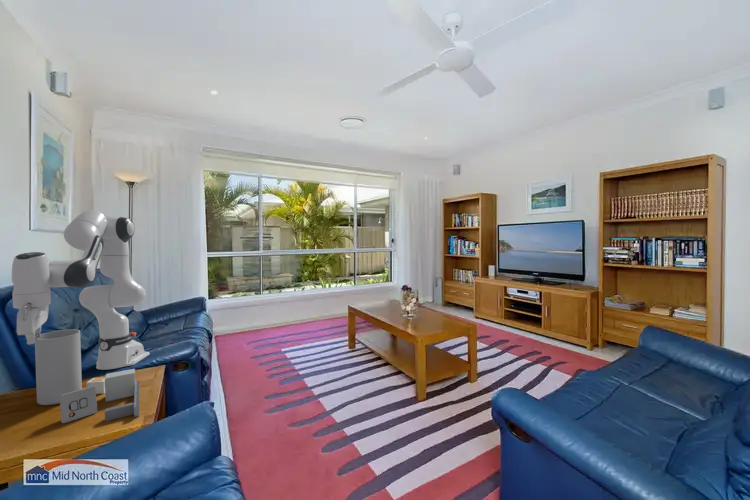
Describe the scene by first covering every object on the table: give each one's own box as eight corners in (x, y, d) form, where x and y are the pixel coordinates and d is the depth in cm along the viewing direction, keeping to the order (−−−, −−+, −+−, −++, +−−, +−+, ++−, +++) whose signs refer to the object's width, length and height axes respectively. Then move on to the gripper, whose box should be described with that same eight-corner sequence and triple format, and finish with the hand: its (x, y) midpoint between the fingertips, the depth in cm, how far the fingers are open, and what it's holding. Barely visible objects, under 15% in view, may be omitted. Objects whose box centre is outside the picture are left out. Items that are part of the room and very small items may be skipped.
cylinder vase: (31, 401, 123) (28, 336, 122) (73, 387, 134) (71, 327, 133) (44, 409, 117) (42, 341, 116) (88, 394, 128) (86, 332, 127)
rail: (135, 390, 132) (135, 380, 132) (139, 389, 133) (139, 379, 133) (134, 417, 113) (133, 406, 113) (139, 416, 114) (139, 404, 113)
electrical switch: (61, 425, 108) (60, 397, 108) (58, 420, 111) (57, 393, 111) (97, 413, 115) (96, 387, 115) (94, 409, 118) (93, 384, 119)
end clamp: (105, 418, 112) (105, 408, 112) (134, 411, 116) (134, 402, 116) (104, 421, 110) (104, 411, 110) (134, 414, 115) (134, 404, 115)
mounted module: (106, 396, 127) (105, 373, 126) (135, 390, 132) (134, 368, 132) (105, 401, 123) (104, 378, 122) (135, 395, 128) (134, 372, 128)
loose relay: (93, 390, 132) (93, 377, 132) (110, 388, 133) (109, 376, 133) (86, 394, 128) (86, 382, 128) (104, 393, 129) (103, 380, 129)
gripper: (37, 305, 103) (39, 348, 103) (52, 295, 119) (53, 332, 120) (8, 307, 99) (10, 352, 100) (27, 296, 115) (28, 335, 116)
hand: (33, 341), depth 110 cm, fingers open, 5 cm apart
